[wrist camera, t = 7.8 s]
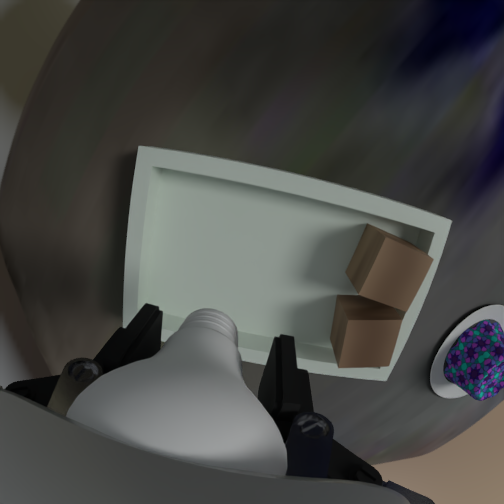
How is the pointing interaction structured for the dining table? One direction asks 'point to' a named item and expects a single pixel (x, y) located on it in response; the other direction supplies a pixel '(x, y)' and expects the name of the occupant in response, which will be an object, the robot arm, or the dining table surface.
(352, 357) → the walnut block
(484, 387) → the pudding
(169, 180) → the tray
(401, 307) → the walnut block
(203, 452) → the lightbulb
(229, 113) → the dining table surface
